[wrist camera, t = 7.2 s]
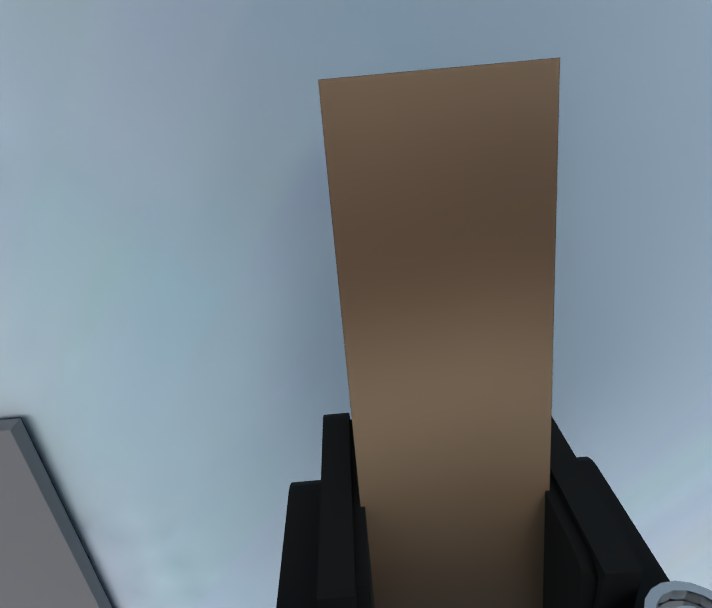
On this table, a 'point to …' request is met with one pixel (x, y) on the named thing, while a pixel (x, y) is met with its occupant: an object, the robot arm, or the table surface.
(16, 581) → the tool mat
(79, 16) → the table surface
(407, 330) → the wooden beam
